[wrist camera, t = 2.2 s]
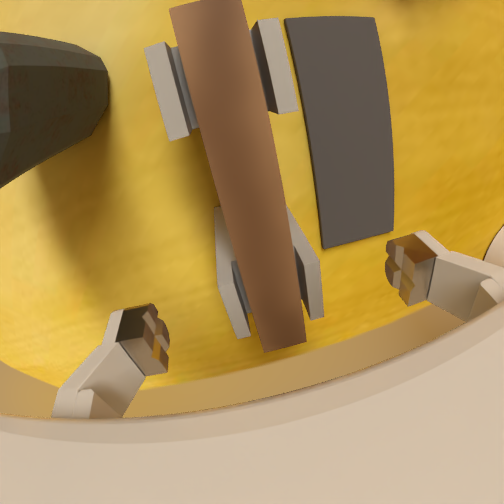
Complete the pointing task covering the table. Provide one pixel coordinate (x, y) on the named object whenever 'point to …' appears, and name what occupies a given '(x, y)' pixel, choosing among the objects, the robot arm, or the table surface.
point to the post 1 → (177, 91)
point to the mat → (346, 124)
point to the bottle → (45, 99)
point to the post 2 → (233, 283)
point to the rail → (242, 161)
